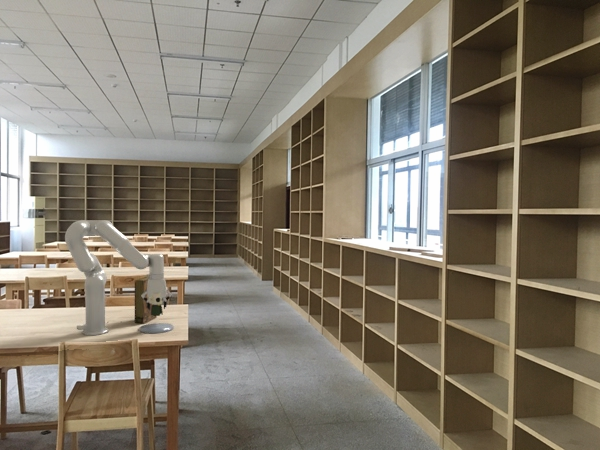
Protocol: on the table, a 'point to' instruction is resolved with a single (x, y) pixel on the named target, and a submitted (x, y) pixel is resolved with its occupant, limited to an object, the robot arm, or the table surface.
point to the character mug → (156, 304)
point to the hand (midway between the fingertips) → (156, 308)
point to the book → (142, 302)
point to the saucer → (156, 328)
